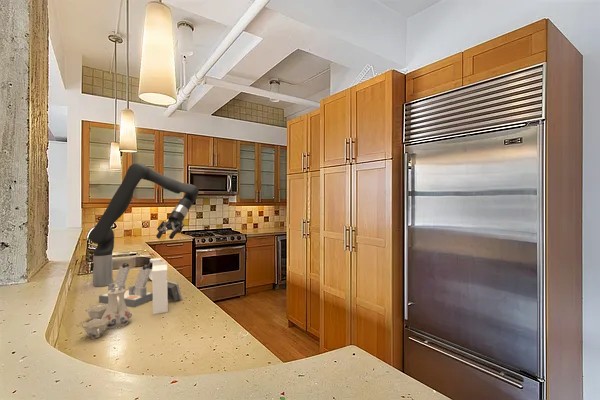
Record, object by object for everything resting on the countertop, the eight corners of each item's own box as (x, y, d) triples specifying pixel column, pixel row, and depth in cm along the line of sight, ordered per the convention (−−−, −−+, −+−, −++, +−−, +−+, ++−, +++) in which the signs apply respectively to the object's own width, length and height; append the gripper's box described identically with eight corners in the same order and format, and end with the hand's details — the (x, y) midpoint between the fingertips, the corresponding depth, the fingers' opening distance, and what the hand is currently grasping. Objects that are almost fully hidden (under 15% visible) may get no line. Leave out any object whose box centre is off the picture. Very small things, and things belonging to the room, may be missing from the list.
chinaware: (83, 323, 133) (77, 284, 131) (128, 310, 142) (123, 274, 141) (85, 349, 110) (78, 303, 109) (138, 332, 120) (132, 289, 118)
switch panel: (99, 302, 153) (98, 287, 153) (120, 294, 165) (119, 280, 164) (135, 307, 146) (134, 291, 146) (154, 298, 158) (154, 284, 158)
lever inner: (110, 289, 157) (120, 261, 162) (115, 290, 160) (124, 263, 165) (118, 290, 155) (128, 262, 161) (123, 291, 158) (132, 263, 163)
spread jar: (160, 275, 203) (160, 257, 203) (170, 278, 197) (170, 259, 196) (141, 279, 194) (141, 260, 193) (151, 282, 187) (151, 262, 187)
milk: (167, 312, 140) (167, 262, 139) (152, 314, 138) (152, 263, 137) (167, 307, 146) (167, 259, 145) (152, 309, 143) (152, 261, 143)
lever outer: (131, 292, 153) (140, 263, 158) (136, 293, 156) (144, 265, 161) (139, 293, 151) (148, 264, 157) (144, 294, 154) (152, 265, 159)
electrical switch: (182, 300, 156) (181, 282, 155) (173, 304, 151) (171, 285, 151) (171, 296, 161) (169, 279, 160) (161, 300, 157) (159, 282, 156)
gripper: (164, 210, 178) (149, 233, 167) (185, 210, 173) (170, 234, 162) (172, 218, 183) (157, 241, 172) (192, 218, 178) (178, 242, 167)
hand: (164, 238), depth 167 cm, fingers open, 8 cm apart
